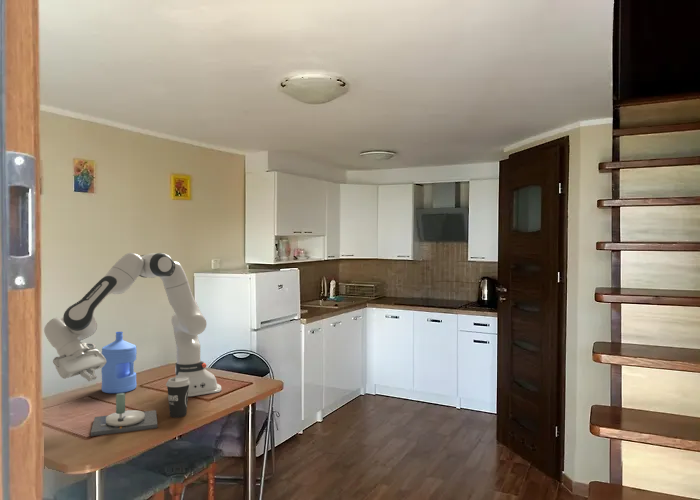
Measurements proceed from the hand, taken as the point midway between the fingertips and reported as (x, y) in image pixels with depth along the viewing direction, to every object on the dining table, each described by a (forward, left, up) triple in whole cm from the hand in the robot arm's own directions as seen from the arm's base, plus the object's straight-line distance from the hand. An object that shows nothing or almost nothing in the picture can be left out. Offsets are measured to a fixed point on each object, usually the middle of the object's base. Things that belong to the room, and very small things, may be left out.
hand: (93, 379), depth 201 cm
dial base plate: (-12, +3, -18) cm, 22 cm away
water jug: (-8, -51, -18) cm, 54 cm away
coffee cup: (-32, -1, -18) cm, 37 cm away
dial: (-12, +3, -16) cm, 20 cm away
